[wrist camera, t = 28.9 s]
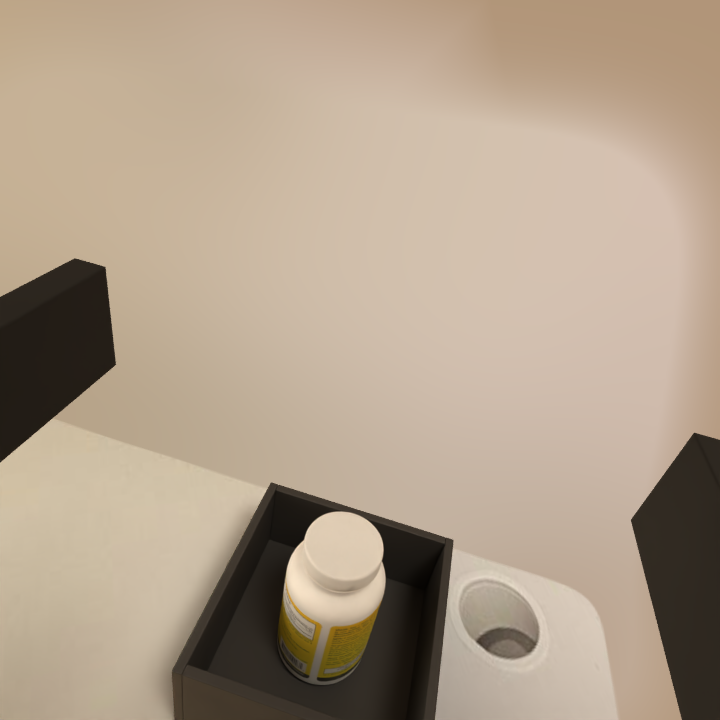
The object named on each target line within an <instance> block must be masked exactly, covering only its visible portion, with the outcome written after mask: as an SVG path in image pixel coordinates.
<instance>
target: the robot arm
mask: <svg viewBox="0 0 720 720" xmlns="http://www.w3.org/2000/svg"><path fill="white" fill-rule="evenodd" d="M115 365H116V362H115V352H114V344H113V334H112V324H111V315H110V307H109V298H108V287H107V278H106V269H105V267H103V266H100V265H97V264H93V263H90V262H86V261H82V260H79V259H73V260H71V261H69V262H67V263H65V264H63V265H61V266H59V267H57V268H55V269H54V270H52V271H50V272H48V273H46V274H44V275H42V276H40V277H38V278H36V279H35V280H32V281H31V282H28V283H27V284H24V285H23V286H21V287H19V288H17V289H15V290H13V291H11V292H9V293H7V294H5V295H3V296H1V297H0V462H1V461H2V460H4V459H5V458H6V457H7V456H8V455H10V454H11V453H12V452H13V451H14V450H15V449H17V448H18V447H19V446H20V445H21V444H23V443H24V442H25V441H26V440H27V439H29V438H30V437H31V436H32V435H33V434H34V433H36V432H37V431H38V430H39V429H40V428H42V427H43V426H44V425H45V424H46V423H47V422H49V421H50V420H51V419H52V418H53V417H55V416H56V415H57V414H58V413H59V412H60V411H62V410H63V409H64V408H65V407H66V406H68V405H69V404H70V403H71V402H72V401H74V400H75V399H76V398H77V397H78V396H79V395H81V394H82V393H83V392H84V391H85V390H86V389H88V388H89V387H90V386H91V385H92V384H94V383H95V382H96V381H97V380H98V379H100V378H101V377H102V376H103V375H104V374H105V373H107V372H108V371H109V370H110V369H111V368H113V367H114V366H115ZM631 522H632V526H633V530H634V534H635V538H636V542H637V545H638V550H639V554H640V557H641V561H642V565H643V569H644V573H645V577H646V581H647V584H648V589H649V593H650V597H651V600H652V604H653V608H654V612H655V616H656V620H657V624H658V628H659V631H660V636H661V639H662V643H663V647H664V651H665V655H666V659H667V663H668V667H669V671H670V675H671V679H672V682H673V686H674V690H675V694H676V698H677V702H678V706H679V710H680V714H681V717H682V720H720V440H718V439H715V438H711V437H707V436H704V435H700V434H697V433H694V434H693V435H692V436H691V438H690V439H689V441H688V442H687V443H686V445H685V446H684V447H683V449H682V450H681V452H680V453H679V455H678V456H677V457H676V459H675V460H674V461H673V463H672V464H671V466H670V467H669V468H668V470H667V471H666V472H665V474H664V475H663V476H662V478H661V479H660V481H659V482H658V483H657V485H656V486H655V487H654V489H653V490H652V492H651V493H650V494H649V496H648V497H647V498H646V500H645V501H644V503H643V504H642V505H641V507H640V508H639V510H638V511H637V512H636V514H635V515H634V516H633V518H632V519H631Z"/></svg>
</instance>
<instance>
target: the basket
mask: <svg viewBox="0 0 720 720" xmlns="http://www.w3.org/2000/svg"><path fill="white" fill-rule="evenodd" d="M331 512H349V513H353V514H356V515H359V516H361V517H363V518H365V519H366V520H368V521H369V522H370V523H371V524H372V525H373V526H374V527H375V528H376V529H377V531H378V532H379V534H380V536H381V538H382V542H383V550H384V551H383V558H382V563H383V566H384V570H385V577H386V583H385V590H384V595H383V598H382V601H381V604H380V607H379V610H378V613H377V616H376V619H375V622H374V625H373V628H372V631H371V633H370V636H369V639H368V642H367V645H366V648H365V651H364V654H363V656H362V658H361V660H360V662H359V664H358V665H357V667H356V668H355V670H354V671H353V672H352V673H351V674H350V675H349V676H347V677H346V678H344V679H343V680H341V681H339V682H337V683H334V684H329V685H315V684H310V683H307V682H305V681H302V680H301V679H299V678H297V677H296V676H295V675H293V674H292V673H291V672H290V671H289V670H288V668H287V667H286V666H285V664H284V663H283V661H282V659H281V657H280V654H279V650H278V644H277V632H278V624H279V618H280V612H281V605H282V598H283V592H284V585H285V578H286V571H287V566H288V563H289V560H290V558H291V556H292V554H293V552H294V551H295V549H296V548H297V547H298V545H299V544H300V543H301V542H302V541H304V539H305V535H306V532H307V530H308V528H309V527H310V525H311V524H312V523H313V522H314V521H315V520H316V519H317V518H319V517H320V516H322V515H324V514H327V513H331ZM452 550H453V540H452V539H449V538H445V537H442V536H439V535H436V534H433V533H430V532H427V531H423V530H420V529H417V528H414V527H411V526H408V525H404V524H401V523H398V522H395V521H392V520H389V519H385V518H382V517H379V516H376V515H373V514H370V513H366V512H363V511H360V510H357V509H354V508H351V507H347V506H344V505H341V504H338V503H335V502H331V501H328V500H325V499H322V498H319V497H316V496H313V495H309V494H306V493H303V492H300V491H297V490H294V489H290V488H287V487H284V486H281V485H277V484H274V483H270V486H269V487H268V489H267V491H266V493H265V495H264V497H263V499H262V500H261V502H260V504H259V506H258V508H257V510H256V512H255V514H254V516H253V518H252V519H251V521H250V523H249V525H248V527H247V529H246V531H245V533H244V535H243V537H242V538H241V540H240V542H239V544H238V546H237V548H236V550H235V552H234V554H233V556H232V557H231V559H230V561H229V563H228V565H227V567H226V569H225V571H224V573H223V575H222V576H221V578H220V580H219V582H218V584H217V586H216V588H215V590H214V592H213V594H212V595H211V597H210V599H209V601H208V603H207V605H206V607H205V609H204V611H203V613H202V614H201V616H200V618H199V620H198V622H197V624H196V626H195V628H194V630H193V632H192V633H191V635H190V637H189V639H188V641H187V643H186V645H185V647H184V649H183V651H182V652H181V654H180V656H179V658H178V660H177V662H176V664H175V666H174V668H173V670H172V682H173V700H174V718H175V720H435V712H436V702H437V693H438V683H439V674H440V664H441V655H442V645H443V636H444V626H445V617H446V607H447V598H448V588H449V579H450V569H451V560H452Z"/></svg>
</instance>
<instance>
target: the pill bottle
mask: <svg viewBox="0 0 720 720" xmlns="http://www.w3.org/2000/svg"><path fill="white" fill-rule="evenodd" d="M383 551H384V550H383V542H382V538H381V536H380V534H379V532H378V531H377V529H376V528H375V527H374V526H373V525H372V524H371V523H370V522H369V521H368V520H366V519H365V518H363V517H361V516H359V515H356V514H353V513H349V512H331V513H327V514H324V515H322V516H320V517H319V518H317V519H316V520H315V521H314V522H313V523H312V524H311V525H310V527H309V528H308V530H307V532H306V535H305V539H304V541H302V542H301V543H300V544H299V545H298V547H297V548H296V549H295V551H294V552H293V554H292V556H291V558H290V560H289V563H288V566H287V571H286V578H285V585H284V592H283V598H282V605H281V612H280V618H279V624H278V632H277V644H278V650H279V654H280V657H281V659H282V661H283V663H284V664H285V666H286V667H287V668H288V670H289V671H290V672H291V673H292V674H293V675H295V676H296V677H297V678H299V679H301V680H302V681H305V682H307V683H310V684H315V685H329V684H334V683H337V682H339V681H341V680H343V679H344V678H346V677H347V676H349V675H350V674H351V673H352V672H353V671H354V670H355V668H356V667H357V665H358V664H359V662H360V660H361V658H362V656H363V654H364V651H365V648H366V645H367V642H368V639H369V636H370V633H371V631H372V628H373V625H374V622H375V619H376V616H377V613H378V610H379V607H380V604H381V601H382V598H383V595H384V590H385V583H386V577H385V570H384V566H383V563H382V558H383Z"/></svg>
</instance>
